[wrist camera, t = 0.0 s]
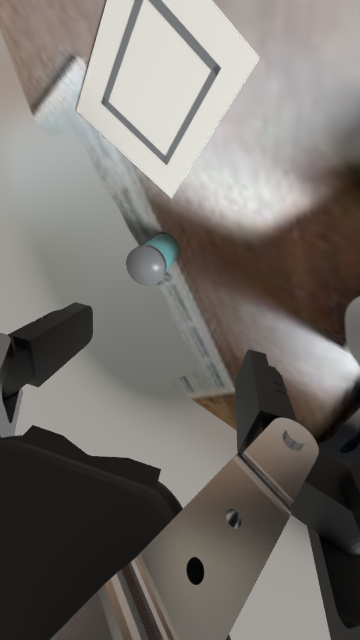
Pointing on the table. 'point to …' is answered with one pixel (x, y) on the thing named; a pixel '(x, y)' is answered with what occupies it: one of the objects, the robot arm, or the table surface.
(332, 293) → the table surface
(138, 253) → the teal jar
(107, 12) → the card
